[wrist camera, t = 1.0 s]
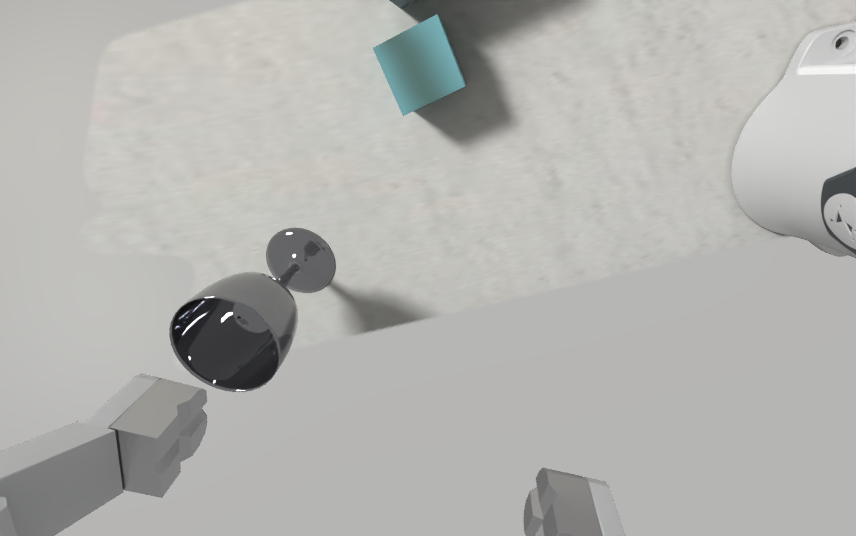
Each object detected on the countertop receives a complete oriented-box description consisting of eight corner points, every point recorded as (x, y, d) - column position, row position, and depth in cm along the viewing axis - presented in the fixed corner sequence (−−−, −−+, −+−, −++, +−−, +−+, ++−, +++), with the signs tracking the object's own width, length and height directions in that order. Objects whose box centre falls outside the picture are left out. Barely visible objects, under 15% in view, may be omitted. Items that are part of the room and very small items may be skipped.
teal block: (442, 20, 35) (437, 14, 30) (466, 83, 36) (465, 86, 32) (385, 50, 36) (372, 48, 31) (411, 109, 38) (403, 115, 33)
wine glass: (308, 209, 42) (228, 278, 29) (354, 276, 45) (301, 368, 31) (246, 246, 45) (145, 326, 31) (293, 307, 47) (220, 406, 34)
